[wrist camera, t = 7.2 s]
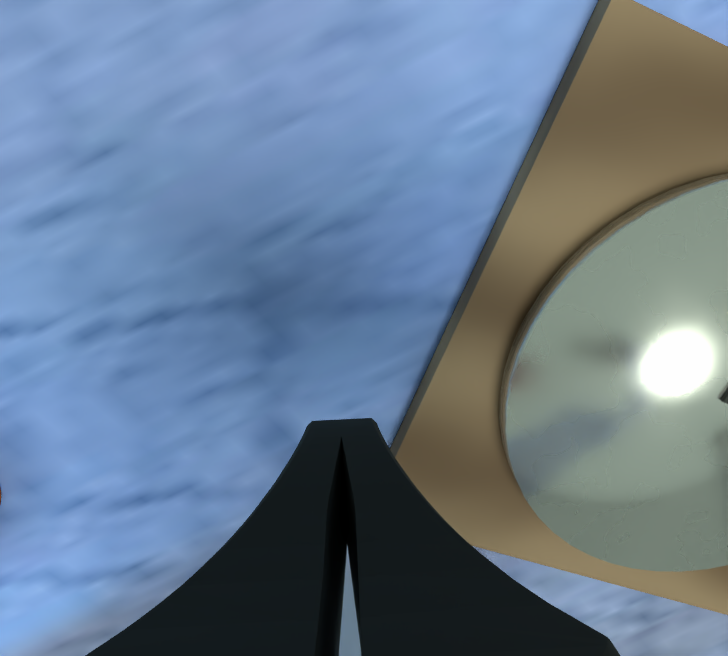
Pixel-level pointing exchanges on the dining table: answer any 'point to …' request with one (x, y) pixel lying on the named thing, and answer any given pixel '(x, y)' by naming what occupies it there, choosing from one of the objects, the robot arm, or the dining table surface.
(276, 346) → the dining table surface
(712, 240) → the capstan dial
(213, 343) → the dining table surface
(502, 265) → the dial base
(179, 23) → the dining table surface
